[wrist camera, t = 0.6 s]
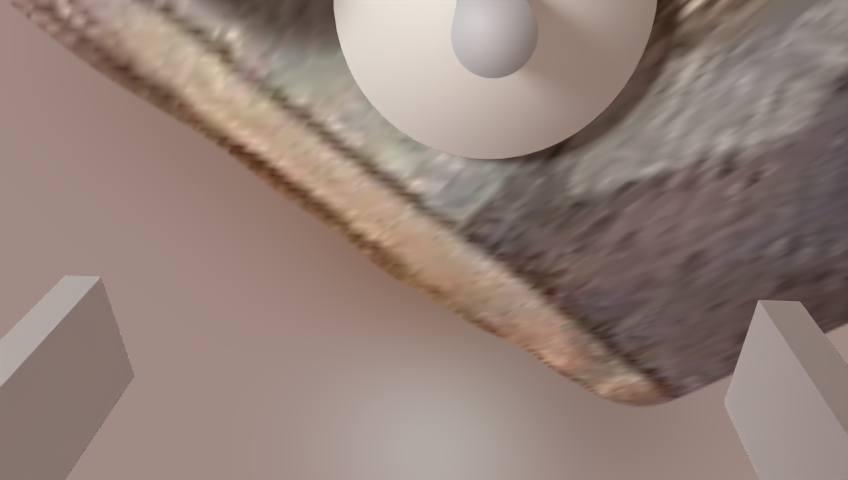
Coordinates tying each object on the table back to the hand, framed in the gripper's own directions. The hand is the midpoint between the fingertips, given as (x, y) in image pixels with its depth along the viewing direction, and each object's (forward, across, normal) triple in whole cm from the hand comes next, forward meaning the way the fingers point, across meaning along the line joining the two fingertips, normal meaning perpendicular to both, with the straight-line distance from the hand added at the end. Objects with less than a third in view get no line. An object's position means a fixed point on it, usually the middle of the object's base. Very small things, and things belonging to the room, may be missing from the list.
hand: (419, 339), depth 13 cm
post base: (+25, +2, +2) cm, 25 cm away
